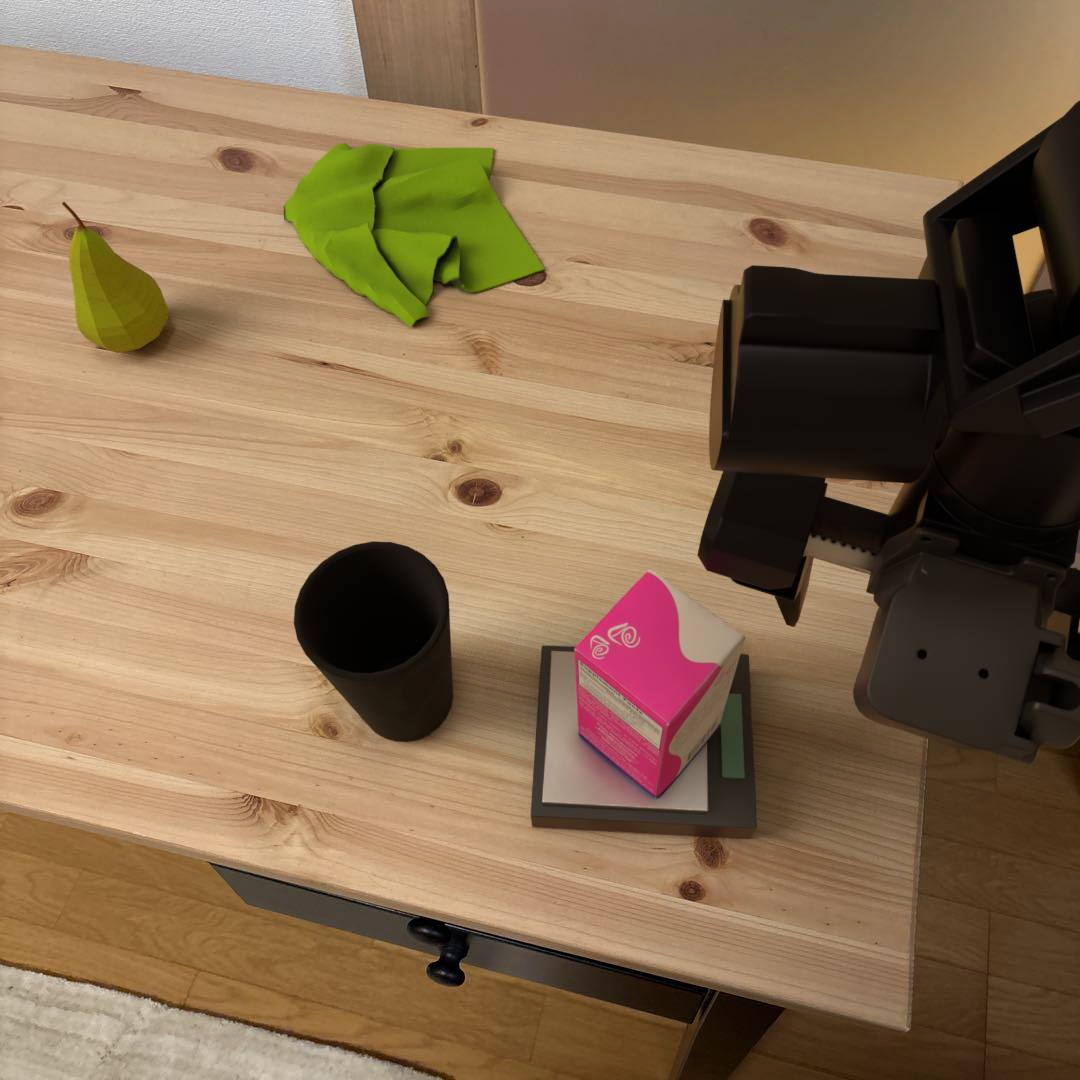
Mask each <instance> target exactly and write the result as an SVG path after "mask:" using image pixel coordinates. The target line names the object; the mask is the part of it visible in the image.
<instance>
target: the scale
mask: <svg viewBox="0 0 1080 1080" xmlns="http://www.w3.org/2000/svg"><path fill="white" fill-rule="evenodd" d="M575 647H576V646H567V645H566V646H565V645H549V644H548V645H546V644H545V645H541V650H540V651H541V653H540V665H539V667H540V669H539V681H538V683H539V684H538V697H537V713H536V725H535V726H536V728H535V740H534V755H533V757H534V758H533V772H532V788H531V800H530V802H531V803H530V822H531V827H532V828H537V829H539V828H540V829H557V830H574V831H575V830H576V831H592V832H593V831H594V832H610V833H629V834H630V833H632V834H645V835H646V834H647V835H648V834H650V835H665V836H666V835H667V836H684V837H702V838H703V837H704V838H720V839H740V840H751V838H752V836H753V835H754V834H755V832H756V830H757V828H758V818H757V798H756V797H757V796H756V776H755V775H756V773H755V772H756V771H755V757H754V756H755V754H754V732H753V712H752V711H753V710H752V690H751V686H752V685H751V669H750V668H751V667H750V666H751V665H750V664H751V663H750V655H749V654H748V653H747V654H746V653H741V654H740V657H739V660H738V664H737V668H736V671H735V674H734V678H733V681H732V684H731V688H730V691H729V694H728V697H727V701H726V704H725V708H724V711H723V715H722V719H721V725H720V727H719V728H718V729H717V730H716V731H715V733H714V734H713V735H712V736H711V738H710V739H709V740H708V741H707V743H706V744H705V745H704V746H703V747H702V749H701V750H700V751H699V752H698V754H697V755H696V756H695V757H694V758H693V759H692V761H691V762H690V763H689V764H688V765H687V767H686V768H685V769H684V770H683V771H682V772H681V774H680V775H679V776H678V777H677V778H676V779H675V781H674V782H673V783H672V784H671V785H670V786H669V787H668V789H667V790H666V791H665V792H664V793H663V794H662V795H661V796H660V797H659V798H657V799H656V798H654V797H653V796H652V795H650V794H649V793H648V792H647V791H645V790H644V789H643V788H642V787H641V786H639V785H638V784H637V783H636V782H635V781H633V780H632V779H631V778H630V777H629V776H627V775H626V774H625V773H624V772H623V771H622V770H620V769H619V768H618V767H617V766H616V765H615V764H613V763H612V762H611V761H610V760H609V759H608V758H606V757H605V756H604V755H603V754H602V753H601V752H599V751H598V750H597V749H596V748H595V747H593V746H592V745H591V744H590V743H589V742H588V741H586V740H585V739H584V738H583V737H582V736H580V735H579V733H578V713H577V692H576V673H575V654H574V649H575Z"/></svg>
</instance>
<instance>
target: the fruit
mask: <svg viewBox="0 0 1080 1080" xmlns="http://www.w3.org/2000/svg"><path fill="white" fill-rule="evenodd" d="M61 205H62V206H63V207H64V208H65V209H66V210H67V212H69V213H70V214H71V216H72V217H73V218H74V219H75V221H76V222H77V224H78V225H77V226H76V227H75V228H74V232H73V235H72V239H71V242H70V246H69V250H68V264H69V267H68V268H69V272H70V278H71V283H72V288H73V289H72V290H73V296H74V311H75V321H76V325H77V329H78V331H79V332H80V333H81V334H82V336H83V337H84V338H85V339H87V340H88V341H89V342H91V343H93V344H95V345H97V346H99V347H101V348H104V349H105V350H108V351H109V352H113V353H115V354H121V353H125V352H129V351H135V350H140V349H141V348H142V347H144V346H146V345H147V344H149V343H151V342H153V341H154V340H155V339H157V338H159V336H160V335H161V333H162V331H163V329H164V328H165V326H166V324H167V322H168V320H169V315H170V312H169V311H170V310H169V308H168V305H167V303H166V300H165V298H164V297H165V296H164V294H163V291H162V290H161V289H162V288H161V287H160V286H159V284H158V283H157V281H156V280H155V279H154V278H153V276H151V275H150V274H149V273H148V272H145V271H144V270H142V269H141V268H139V267H138V266H135V265H134V264H132V263H130V262H128V261H127V260H126V259H124V258H123V257H122V256H120V254H117V252H115V251H114V250H113V248H112V247H111V246H110V245H109V244H108V243H107V241H106V240H105V239H104V238H103V237H102V236H101V235H99V233H97V232H96V231H94V230H92V229H90V228H89V227H87V226H86V225H85V224H84V223H83V221H82V219H81V218H80V217H79V216H78V214H77V213H76V212H75V211H74V210H73V209H72V208H71V207H70V206H69V205H68V203H66V202H65V201H63V202H61Z"/></svg>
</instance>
